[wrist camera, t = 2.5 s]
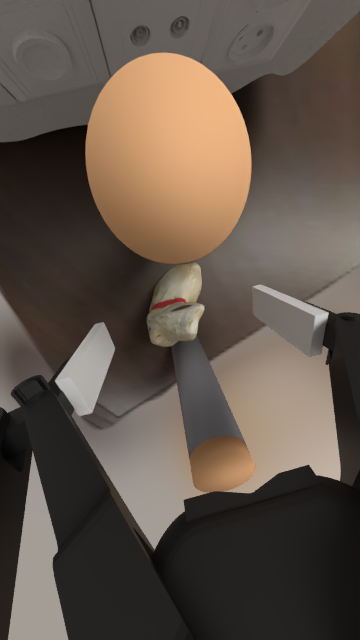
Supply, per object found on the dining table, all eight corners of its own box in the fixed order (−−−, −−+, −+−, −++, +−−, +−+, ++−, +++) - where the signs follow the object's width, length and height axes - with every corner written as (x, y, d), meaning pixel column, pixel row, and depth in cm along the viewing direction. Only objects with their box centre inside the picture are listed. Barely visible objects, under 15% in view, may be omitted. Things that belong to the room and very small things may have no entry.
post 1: (132, 204, 17) (49, 72, 3) (173, 195, 17) (249, 35, 4) (144, 248, 19) (121, 277, 5) (181, 240, 19) (252, 247, 5)
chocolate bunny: (132, 287, 20) (116, 326, 11) (194, 255, 20) (228, 271, 11) (155, 324, 23) (157, 381, 14) (211, 297, 22) (250, 338, 13)
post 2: (168, 334, 24) (188, 468, 10) (196, 327, 24) (255, 449, 10) (174, 358, 25) (198, 498, 12) (201, 351, 26) (255, 482, 12)
